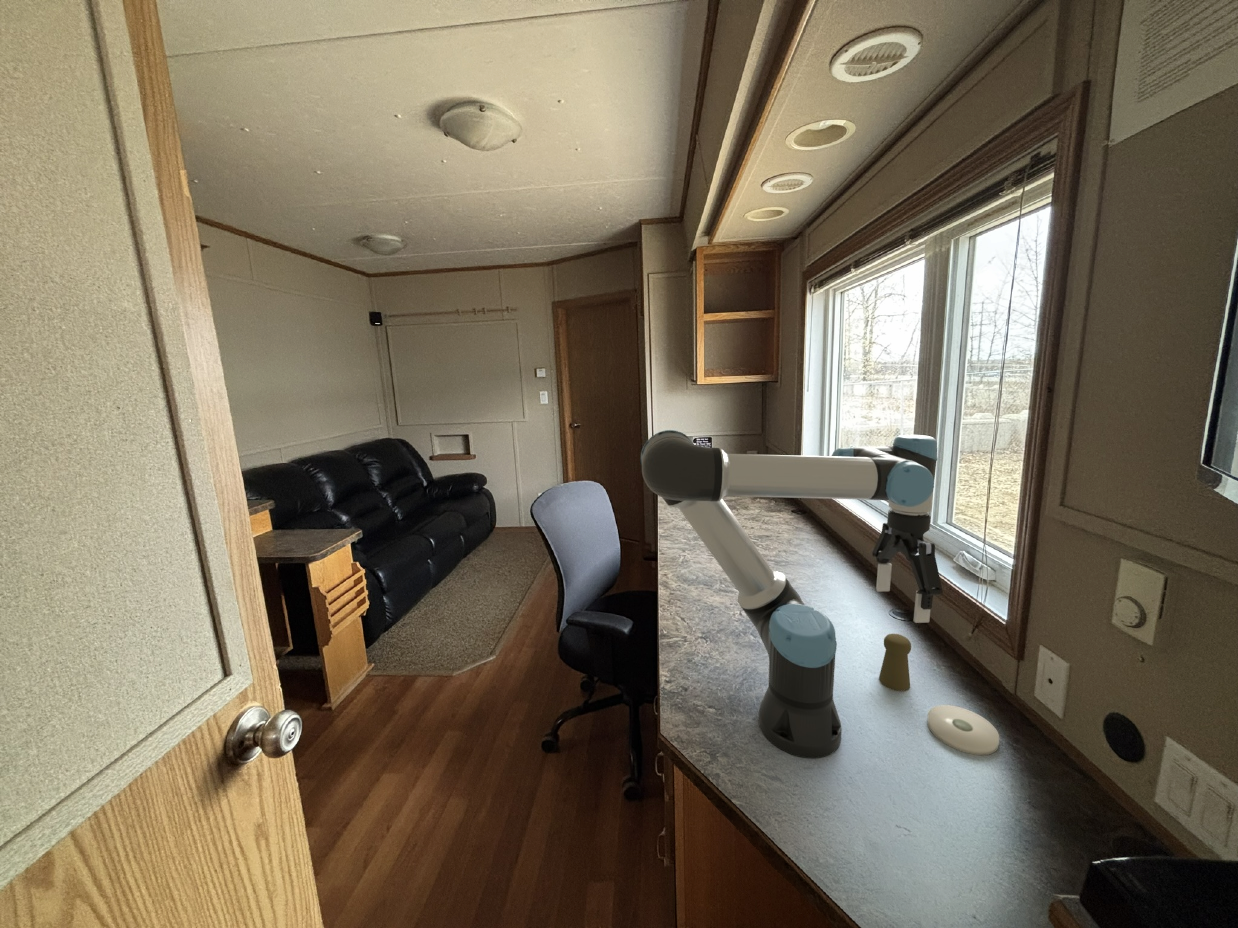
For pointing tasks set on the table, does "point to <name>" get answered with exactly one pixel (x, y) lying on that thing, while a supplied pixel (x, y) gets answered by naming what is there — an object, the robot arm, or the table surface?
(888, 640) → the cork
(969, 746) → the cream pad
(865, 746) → the table surface
